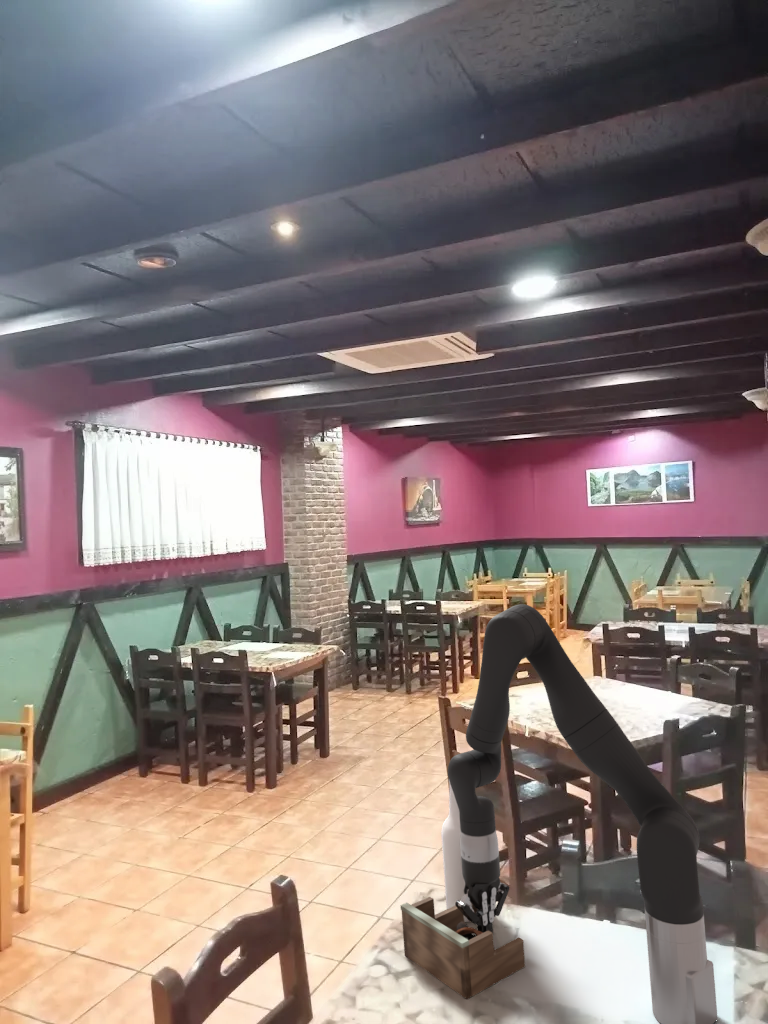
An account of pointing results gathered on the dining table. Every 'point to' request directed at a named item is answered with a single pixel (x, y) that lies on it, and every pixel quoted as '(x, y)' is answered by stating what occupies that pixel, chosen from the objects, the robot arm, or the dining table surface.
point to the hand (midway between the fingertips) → (486, 940)
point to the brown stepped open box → (456, 949)
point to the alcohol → (452, 855)
